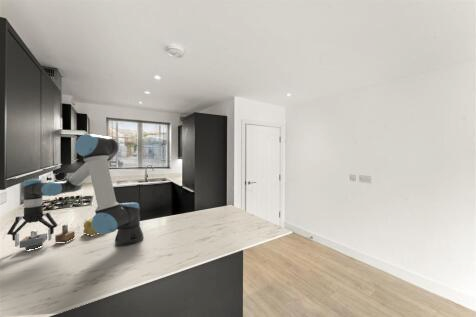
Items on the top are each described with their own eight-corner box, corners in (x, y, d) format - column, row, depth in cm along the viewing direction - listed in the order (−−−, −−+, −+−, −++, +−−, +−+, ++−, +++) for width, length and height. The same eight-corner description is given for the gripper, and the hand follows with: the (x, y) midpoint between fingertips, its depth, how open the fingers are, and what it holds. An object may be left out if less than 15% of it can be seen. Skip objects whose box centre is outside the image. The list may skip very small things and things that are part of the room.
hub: (46, 245, 116) (45, 228, 116) (34, 251, 109) (33, 233, 109) (34, 246, 115) (33, 229, 116) (21, 251, 108) (21, 233, 109)
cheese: (83, 234, 132) (82, 220, 132) (100, 229, 142) (100, 215, 142) (91, 237, 127) (90, 221, 127) (108, 231, 137) (108, 217, 137)
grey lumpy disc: (47, 238, 118) (47, 233, 118) (42, 244, 111) (42, 237, 111) (26, 242, 114) (26, 236, 114) (19, 248, 106) (19, 241, 106)
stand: (74, 239, 125) (74, 223, 125) (66, 243, 118) (65, 226, 118) (64, 239, 124) (64, 223, 125) (55, 243, 118) (55, 227, 118)
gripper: (63, 202, 122) (64, 235, 122) (4, 208, 109) (5, 246, 109) (60, 203, 116) (61, 239, 115) (-3, 210, 103) (-2, 251, 102)
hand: (34, 242), depth 112 cm, fingers open, 13 cm apart
